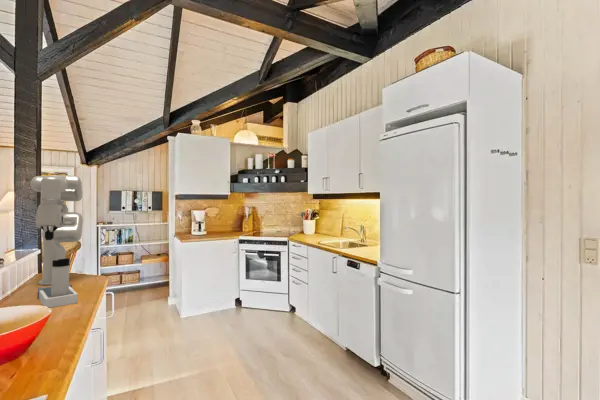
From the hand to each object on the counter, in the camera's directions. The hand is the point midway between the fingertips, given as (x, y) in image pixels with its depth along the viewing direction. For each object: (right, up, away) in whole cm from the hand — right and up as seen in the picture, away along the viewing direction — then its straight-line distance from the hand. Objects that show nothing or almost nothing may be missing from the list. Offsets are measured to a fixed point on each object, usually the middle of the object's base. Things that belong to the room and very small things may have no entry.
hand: (49, 239), depth 147 cm
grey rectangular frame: (+12, -27, -9) cm, 31 cm away
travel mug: (+14, -27, -11) cm, 32 cm away
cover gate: (+5, -27, -3) cm, 27 cm away
